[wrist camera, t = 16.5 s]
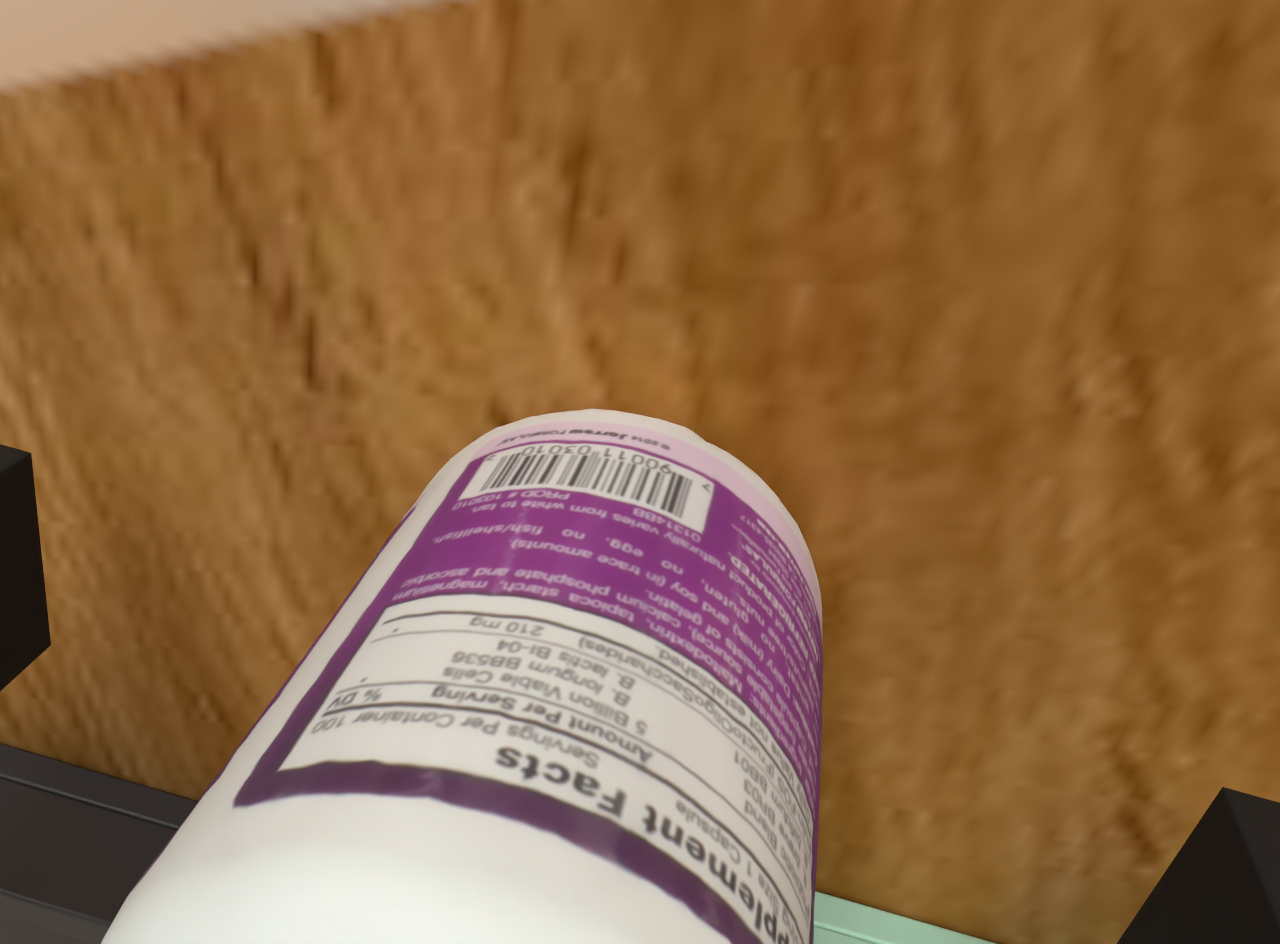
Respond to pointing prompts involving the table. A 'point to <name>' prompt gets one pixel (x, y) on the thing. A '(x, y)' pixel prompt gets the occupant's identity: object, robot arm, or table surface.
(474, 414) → the table surface
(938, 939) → the mint tray
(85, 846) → the charcoal tray
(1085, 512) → the table surface
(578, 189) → the table surface
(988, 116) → the table surface
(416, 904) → the pill bottle
